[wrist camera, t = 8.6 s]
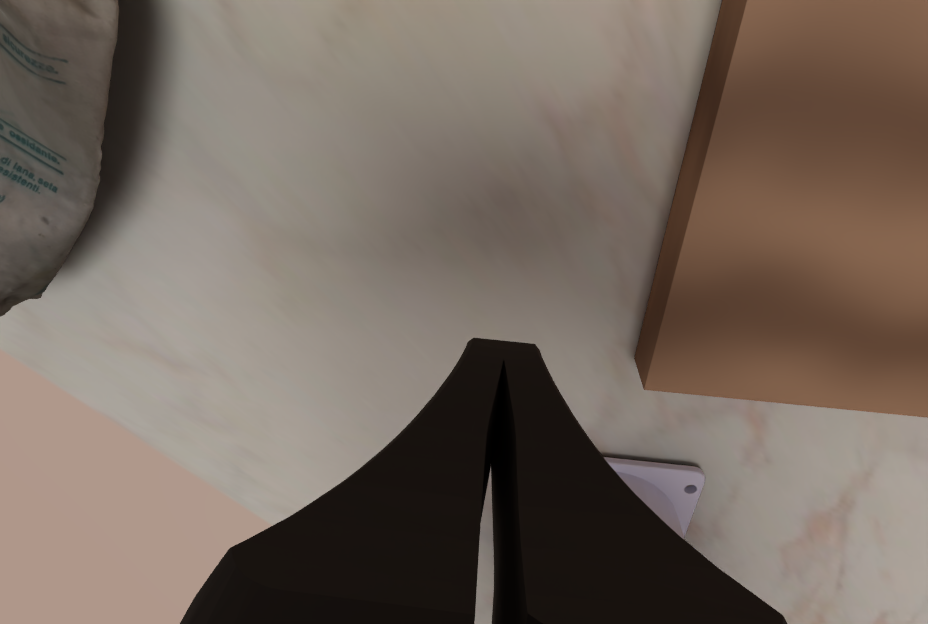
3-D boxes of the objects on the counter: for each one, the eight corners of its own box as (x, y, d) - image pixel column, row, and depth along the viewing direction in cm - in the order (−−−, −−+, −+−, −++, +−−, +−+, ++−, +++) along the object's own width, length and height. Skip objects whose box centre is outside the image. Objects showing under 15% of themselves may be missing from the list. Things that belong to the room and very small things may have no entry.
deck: (954, 388, 21) (993, 423, 19) (634, 358, 22) (643, 389, 20) (1353, -267, 12) (1489, -311, 11) (792, -286, 13) (834, -330, 11)
